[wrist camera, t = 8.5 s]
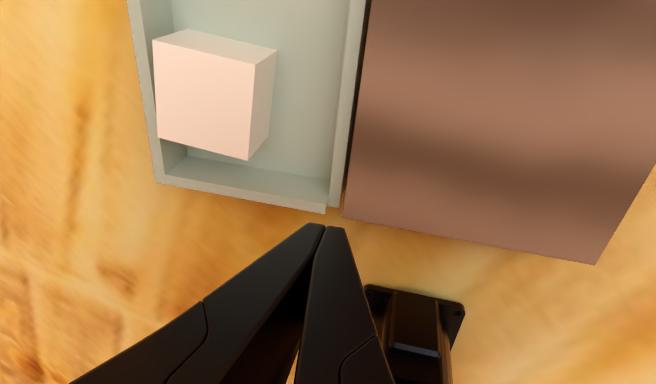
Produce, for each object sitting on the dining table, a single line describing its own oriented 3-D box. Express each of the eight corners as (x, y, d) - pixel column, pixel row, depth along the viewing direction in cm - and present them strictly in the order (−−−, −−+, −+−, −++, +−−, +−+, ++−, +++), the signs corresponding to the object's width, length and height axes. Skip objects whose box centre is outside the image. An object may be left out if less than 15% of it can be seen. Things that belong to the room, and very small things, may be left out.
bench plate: (573, 228, 21) (594, 265, 18) (350, 188, 22) (342, 217, 20) (889, -376, 10) (1042, -485, 8) (432, -381, 12) (436, -473, 9)
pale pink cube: (157, 137, 19) (188, 116, 21) (247, 160, 18) (268, 136, 21) (152, 39, 16) (187, 28, 19) (255, 64, 16) (277, 50, 19)
